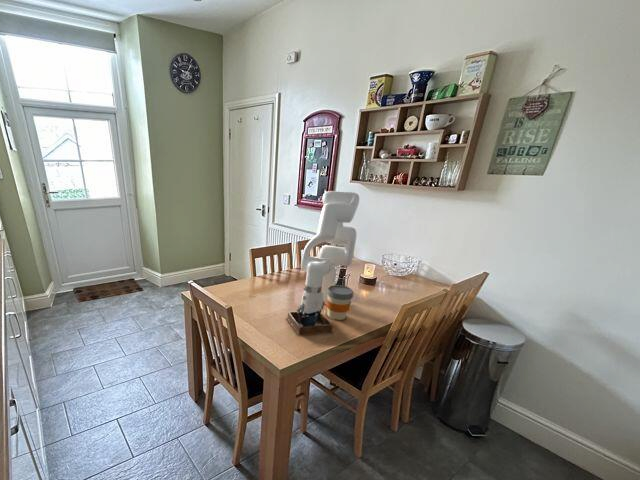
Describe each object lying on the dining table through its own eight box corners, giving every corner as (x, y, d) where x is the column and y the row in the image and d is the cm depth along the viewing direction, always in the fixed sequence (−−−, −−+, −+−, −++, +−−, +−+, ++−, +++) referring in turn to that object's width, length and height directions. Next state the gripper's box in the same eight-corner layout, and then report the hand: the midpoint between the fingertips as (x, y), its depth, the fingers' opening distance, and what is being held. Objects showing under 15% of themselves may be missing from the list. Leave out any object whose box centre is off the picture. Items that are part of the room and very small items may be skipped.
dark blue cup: (312, 320, 163) (313, 310, 160) (318, 327, 157) (319, 316, 154) (299, 321, 162) (300, 310, 159) (304, 328, 156) (306, 317, 153)
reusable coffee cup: (327, 308, 177) (331, 283, 171) (351, 314, 171) (356, 288, 165) (320, 318, 167) (324, 291, 161) (345, 324, 161) (350, 296, 155)
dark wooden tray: (317, 316, 168) (318, 309, 167) (331, 332, 154) (332, 325, 152) (287, 319, 165) (288, 311, 164) (298, 335, 151) (299, 327, 149)
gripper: (304, 294, 144) (300, 328, 151) (332, 287, 153) (327, 320, 160) (293, 289, 150) (290, 322, 157) (321, 282, 158) (316, 314, 165)
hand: (309, 321), depth 158 cm, fingers open, 9 cm apart
